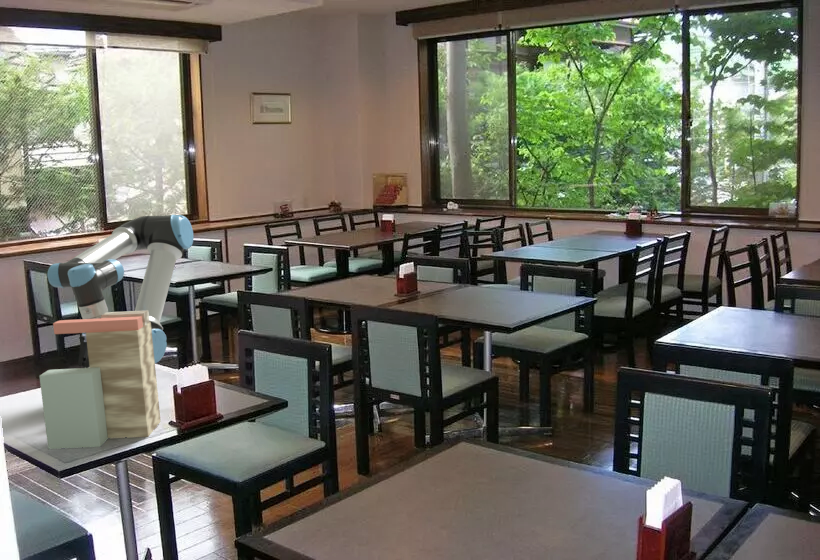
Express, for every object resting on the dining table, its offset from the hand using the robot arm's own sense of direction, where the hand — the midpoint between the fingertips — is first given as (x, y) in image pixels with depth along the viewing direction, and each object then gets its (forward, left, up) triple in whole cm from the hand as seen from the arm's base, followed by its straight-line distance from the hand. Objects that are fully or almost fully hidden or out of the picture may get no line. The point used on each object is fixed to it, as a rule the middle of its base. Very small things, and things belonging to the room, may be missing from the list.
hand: (118, 382), depth 254 cm
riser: (+25, -3, -10) cm, 27 cm away
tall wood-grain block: (+16, +8, -10) cm, 20 cm away
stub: (+19, +3, +20) cm, 27 cm away
